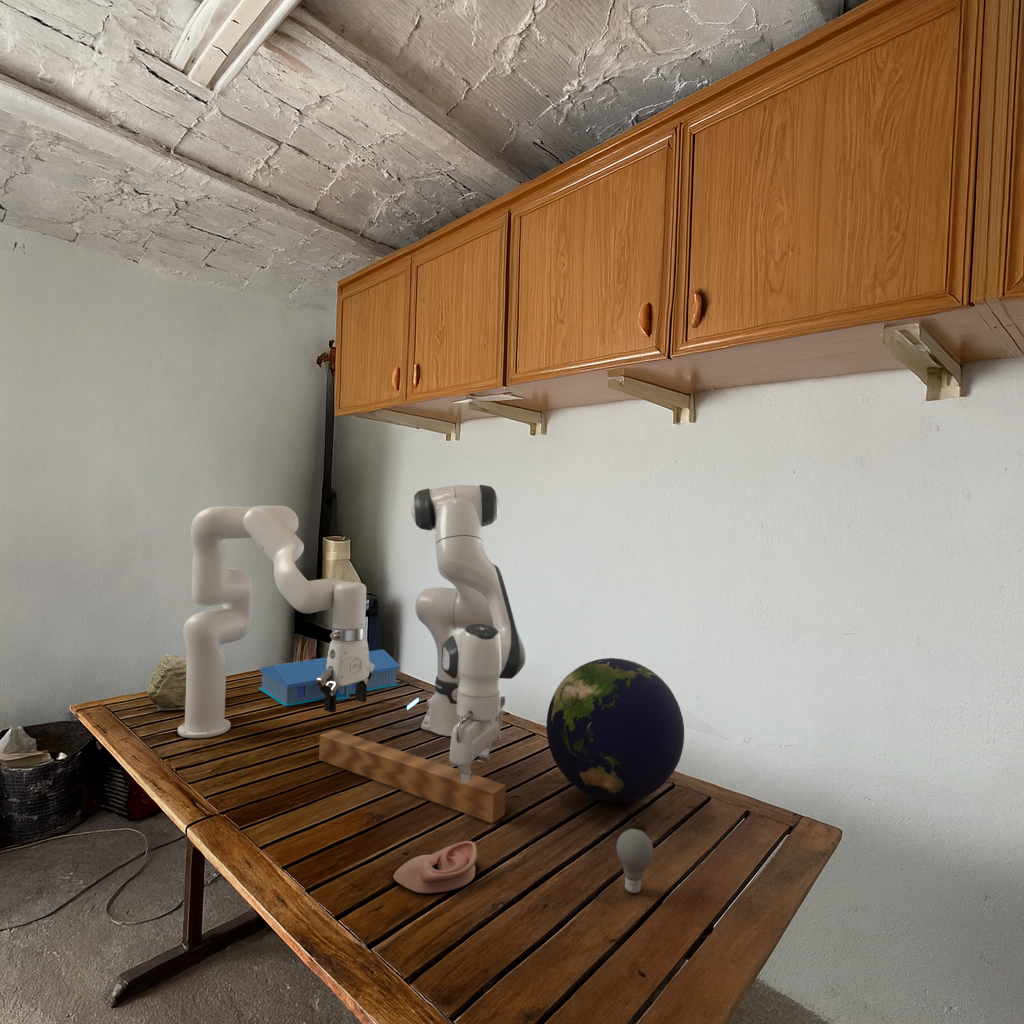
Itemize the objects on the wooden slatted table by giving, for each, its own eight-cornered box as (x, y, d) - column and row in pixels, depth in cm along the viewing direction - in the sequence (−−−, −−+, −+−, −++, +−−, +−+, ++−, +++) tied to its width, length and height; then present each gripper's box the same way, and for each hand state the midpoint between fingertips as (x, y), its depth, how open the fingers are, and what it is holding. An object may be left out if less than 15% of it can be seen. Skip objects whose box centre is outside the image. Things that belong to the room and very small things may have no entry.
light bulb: (610, 879, 108) (613, 822, 108) (644, 879, 109) (647, 822, 109) (619, 902, 102) (622, 840, 102) (655, 901, 103) (658, 840, 103)
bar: (318, 759, 152) (319, 734, 152) (333, 753, 156) (334, 729, 156) (492, 823, 126) (493, 793, 126) (505, 814, 130) (506, 784, 130)
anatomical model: (386, 863, 103) (411, 828, 115) (385, 887, 104) (410, 850, 115) (465, 876, 101) (482, 839, 112) (463, 901, 101) (481, 861, 112)
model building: (289, 709, 186) (291, 675, 185) (258, 688, 204) (259, 657, 204) (403, 687, 212) (405, 657, 212) (366, 670, 230) (368, 643, 230)
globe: (523, 809, 132) (530, 666, 131) (566, 757, 160) (571, 639, 159) (669, 844, 121) (677, 688, 120) (688, 782, 148) (694, 654, 148)
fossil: (144, 707, 182) (145, 655, 182) (212, 696, 194) (213, 647, 194) (151, 716, 175) (153, 662, 175) (221, 703, 188) (223, 653, 188)
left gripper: (331, 643, 141) (328, 719, 141) (385, 631, 156) (382, 700, 156) (308, 638, 145) (305, 712, 145) (363, 626, 160) (360, 694, 160)
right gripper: (473, 722, 119) (470, 796, 119) (508, 694, 139) (505, 757, 139) (443, 717, 121) (439, 789, 121) (481, 690, 141) (478, 752, 141)
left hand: (345, 705), depth 151 cm, fingers open, 9 cm apart
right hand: (475, 772), depth 130 cm, fingers open, 8 cm apart
